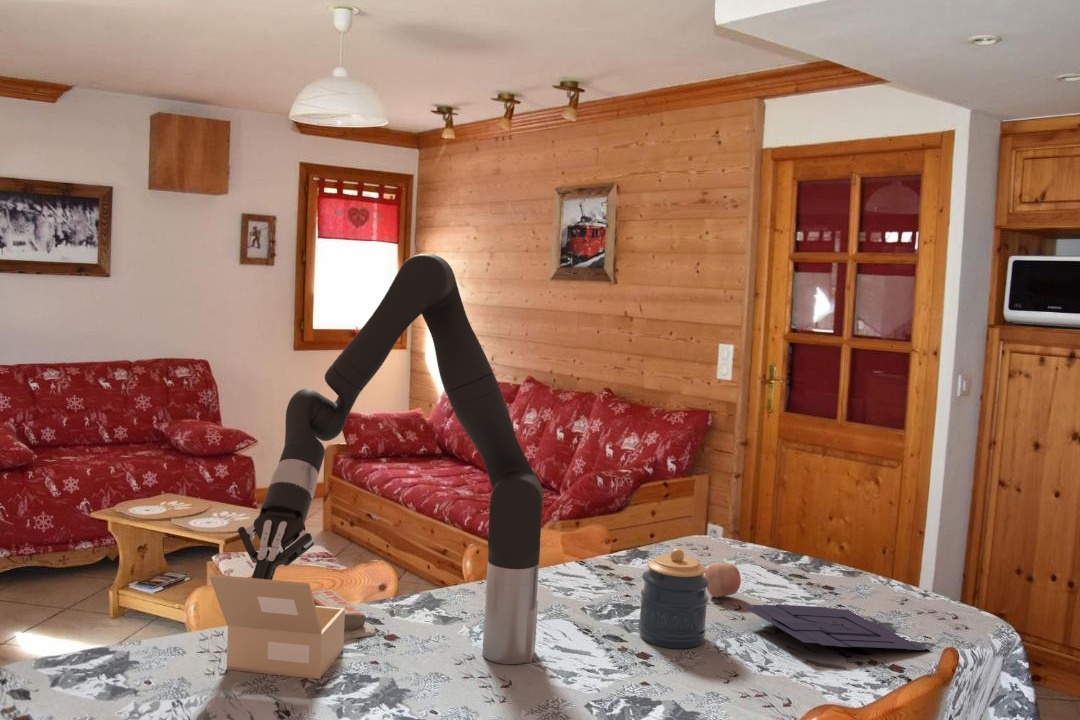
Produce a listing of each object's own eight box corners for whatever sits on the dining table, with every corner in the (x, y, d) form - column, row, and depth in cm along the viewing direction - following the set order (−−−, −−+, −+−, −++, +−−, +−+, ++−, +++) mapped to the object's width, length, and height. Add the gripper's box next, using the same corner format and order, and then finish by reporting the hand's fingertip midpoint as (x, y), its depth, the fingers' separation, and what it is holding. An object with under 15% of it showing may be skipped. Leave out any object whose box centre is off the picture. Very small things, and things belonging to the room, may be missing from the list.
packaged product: (290, 590, 191) (338, 584, 197) (289, 615, 192) (337, 607, 197) (327, 619, 177) (377, 612, 182) (326, 646, 177) (376, 637, 183)
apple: (744, 597, 219) (746, 562, 218) (731, 606, 212) (734, 570, 212) (710, 589, 223) (713, 555, 222) (697, 597, 216) (700, 562, 216)
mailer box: (343, 650, 174) (345, 608, 174) (319, 679, 161) (321, 634, 161) (256, 641, 176) (258, 600, 175) (226, 669, 163) (227, 625, 162)
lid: (309, 583, 152) (308, 586, 152) (321, 631, 161) (320, 635, 160) (210, 574, 154) (209, 577, 153) (228, 622, 162) (226, 625, 162)
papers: (733, 615, 202) (736, 598, 202) (847, 621, 214) (850, 605, 214) (807, 660, 180) (810, 641, 180) (930, 664, 192) (933, 646, 192)
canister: (712, 634, 194) (719, 547, 193) (694, 655, 182) (701, 562, 181) (650, 621, 199) (656, 536, 198) (628, 640, 188) (634, 550, 186)
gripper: (247, 476, 163) (212, 570, 152) (324, 483, 162) (295, 578, 151) (258, 500, 169) (226, 592, 158) (332, 507, 168) (305, 600, 157)
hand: (259, 585), depth 154 cm, fingers closed
